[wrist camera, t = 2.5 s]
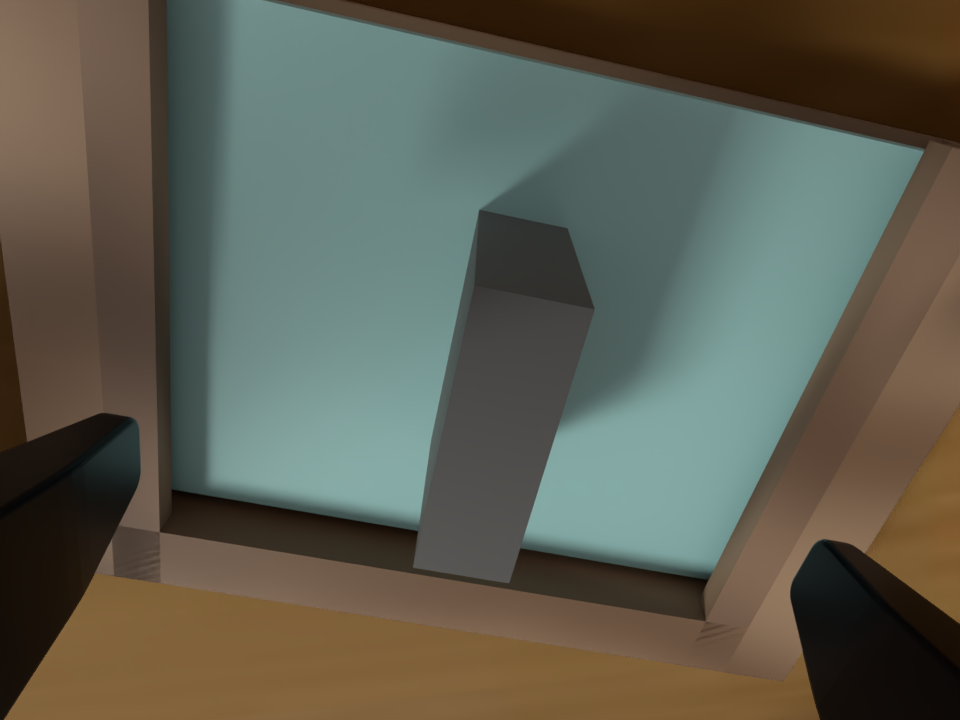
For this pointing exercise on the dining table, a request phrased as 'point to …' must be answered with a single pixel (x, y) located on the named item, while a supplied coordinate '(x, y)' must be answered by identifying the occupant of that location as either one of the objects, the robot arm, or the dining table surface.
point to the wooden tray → (391, 550)
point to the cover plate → (381, 251)
